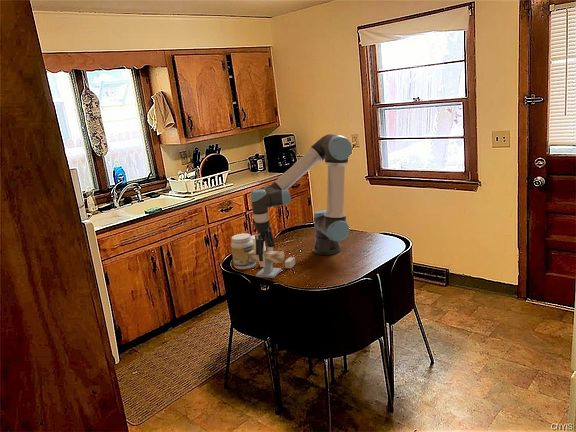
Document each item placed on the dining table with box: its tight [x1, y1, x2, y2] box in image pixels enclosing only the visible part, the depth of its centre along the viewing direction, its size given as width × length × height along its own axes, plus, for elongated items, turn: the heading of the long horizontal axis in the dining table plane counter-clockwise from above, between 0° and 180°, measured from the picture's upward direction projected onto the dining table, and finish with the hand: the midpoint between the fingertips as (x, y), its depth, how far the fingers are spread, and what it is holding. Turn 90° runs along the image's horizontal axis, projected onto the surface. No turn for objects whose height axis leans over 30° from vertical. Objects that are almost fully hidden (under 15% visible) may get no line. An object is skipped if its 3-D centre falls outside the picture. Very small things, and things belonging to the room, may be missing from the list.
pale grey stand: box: [255, 262, 282, 279], centre depth 237 cm, size 10×10×7 cm
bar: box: [248, 250, 286, 264], centre depth 236 cm, size 18×4×4 cm, turn 66°
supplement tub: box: [230, 233, 257, 270], centre depth 250 cm, size 12×12×17 cm
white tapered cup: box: [251, 234, 267, 251], centre depth 262 cm, size 8×8×12 cm
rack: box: [258, 256, 296, 269], centre depth 247 cm, size 18×6×4 cm, turn 66°
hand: (267, 262), depth 236 cm, fingers open, 9 cm apart
